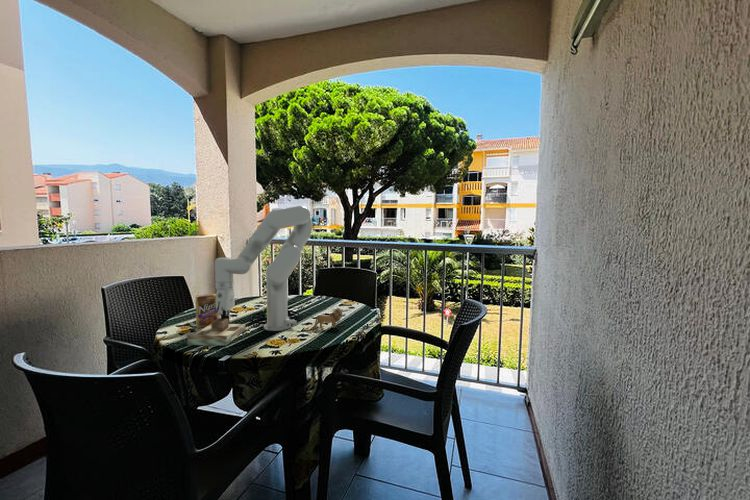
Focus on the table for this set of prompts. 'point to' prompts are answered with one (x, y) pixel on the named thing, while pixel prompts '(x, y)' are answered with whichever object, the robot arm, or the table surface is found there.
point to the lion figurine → (329, 318)
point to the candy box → (205, 310)
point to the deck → (215, 335)
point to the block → (219, 325)
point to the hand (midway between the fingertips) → (225, 324)
